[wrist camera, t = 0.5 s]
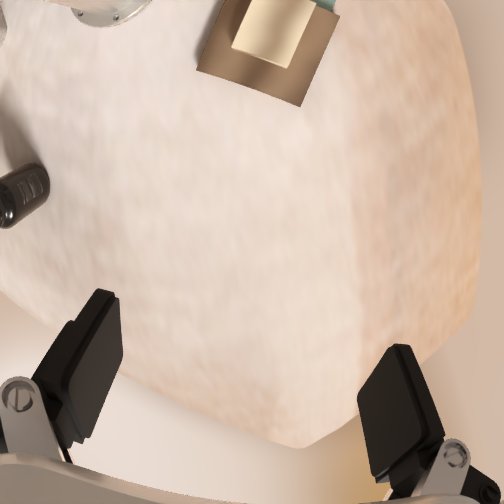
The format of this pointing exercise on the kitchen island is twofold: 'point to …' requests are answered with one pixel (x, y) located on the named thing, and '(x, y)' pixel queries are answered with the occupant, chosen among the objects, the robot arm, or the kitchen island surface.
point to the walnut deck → (260, 71)
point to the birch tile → (273, 29)
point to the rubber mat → (325, 4)
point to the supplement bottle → (22, 193)
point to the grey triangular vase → (2, 28)
